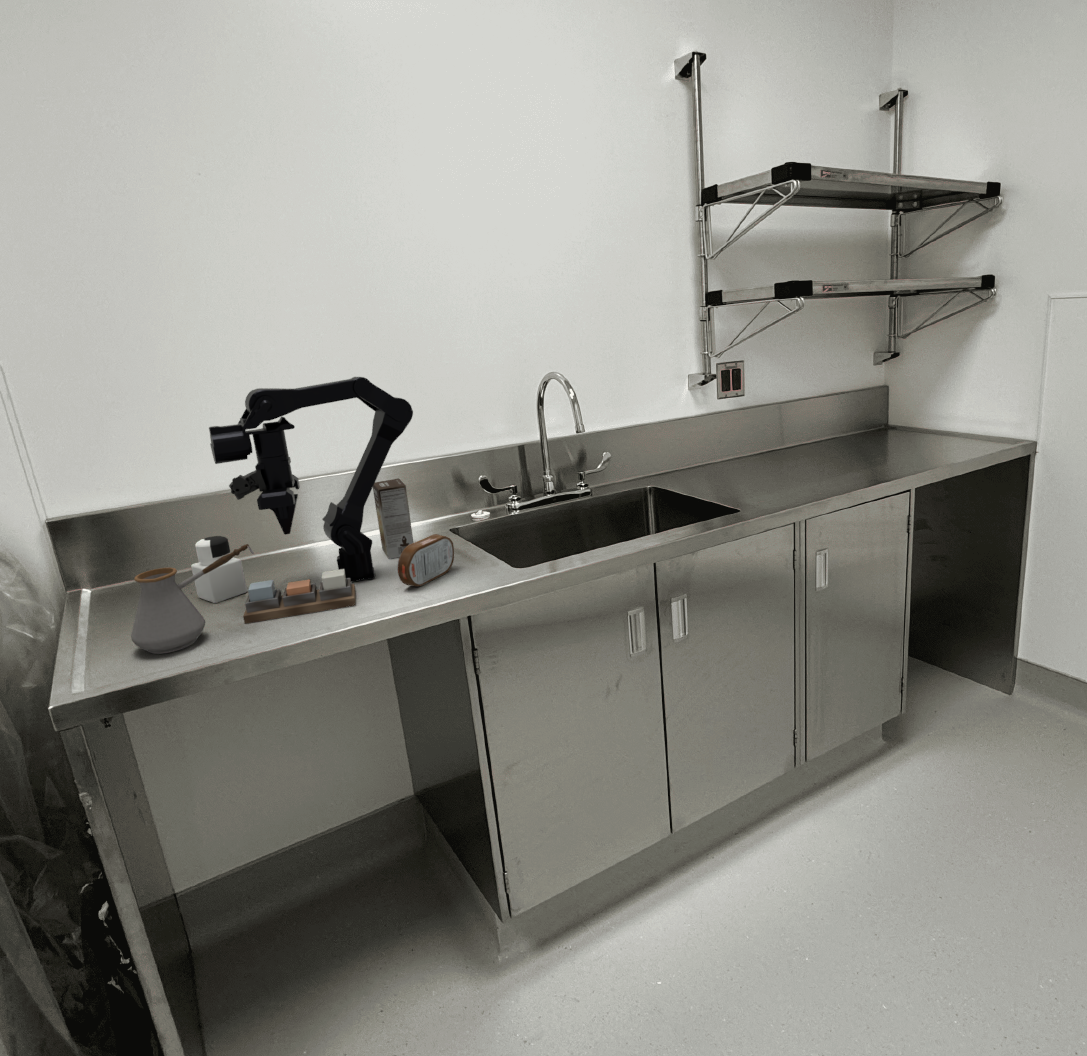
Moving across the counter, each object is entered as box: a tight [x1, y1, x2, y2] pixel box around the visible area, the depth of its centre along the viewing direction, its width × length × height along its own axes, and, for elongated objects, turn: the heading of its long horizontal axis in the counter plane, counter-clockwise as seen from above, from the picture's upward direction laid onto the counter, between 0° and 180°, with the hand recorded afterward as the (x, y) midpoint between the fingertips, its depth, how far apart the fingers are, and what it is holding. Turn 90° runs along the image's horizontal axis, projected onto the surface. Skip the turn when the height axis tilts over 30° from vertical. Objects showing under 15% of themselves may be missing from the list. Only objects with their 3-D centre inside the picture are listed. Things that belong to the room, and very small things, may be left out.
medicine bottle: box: [190, 535, 248, 604], centre depth 147 cm, size 7×7×12 cm
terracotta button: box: [286, 579, 312, 596], centre depth 137 cm, size 4×4×3 cm
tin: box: [397, 533, 455, 588], centre depth 146 cm, size 15×3×8 cm, turn 149°
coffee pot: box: [130, 543, 255, 655], centre depth 126 cm, size 21×12×15 cm, turn 115°
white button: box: [321, 569, 347, 590], centre depth 138 cm, size 4×4×3 cm
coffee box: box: [372, 478, 415, 560], centre depth 165 cm, size 9×6×16 cm
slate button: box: [247, 579, 276, 602], centre depth 136 cm, size 4×4×3 cm
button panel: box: [242, 578, 357, 625], centre depth 138 cm, size 20×8×3 cm, turn 104°
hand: (287, 533), depth 144 cm, fingers closed
